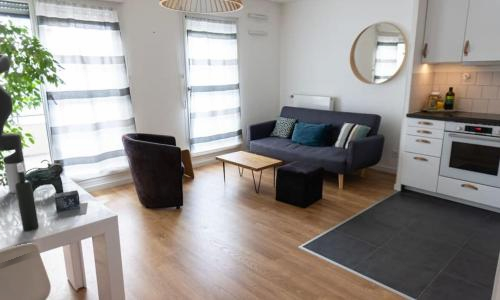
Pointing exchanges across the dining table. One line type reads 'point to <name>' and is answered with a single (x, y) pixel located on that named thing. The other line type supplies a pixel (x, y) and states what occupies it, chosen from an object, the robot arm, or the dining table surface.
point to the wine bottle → (26, 201)
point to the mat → (74, 211)
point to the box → (67, 201)
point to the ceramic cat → (46, 177)
